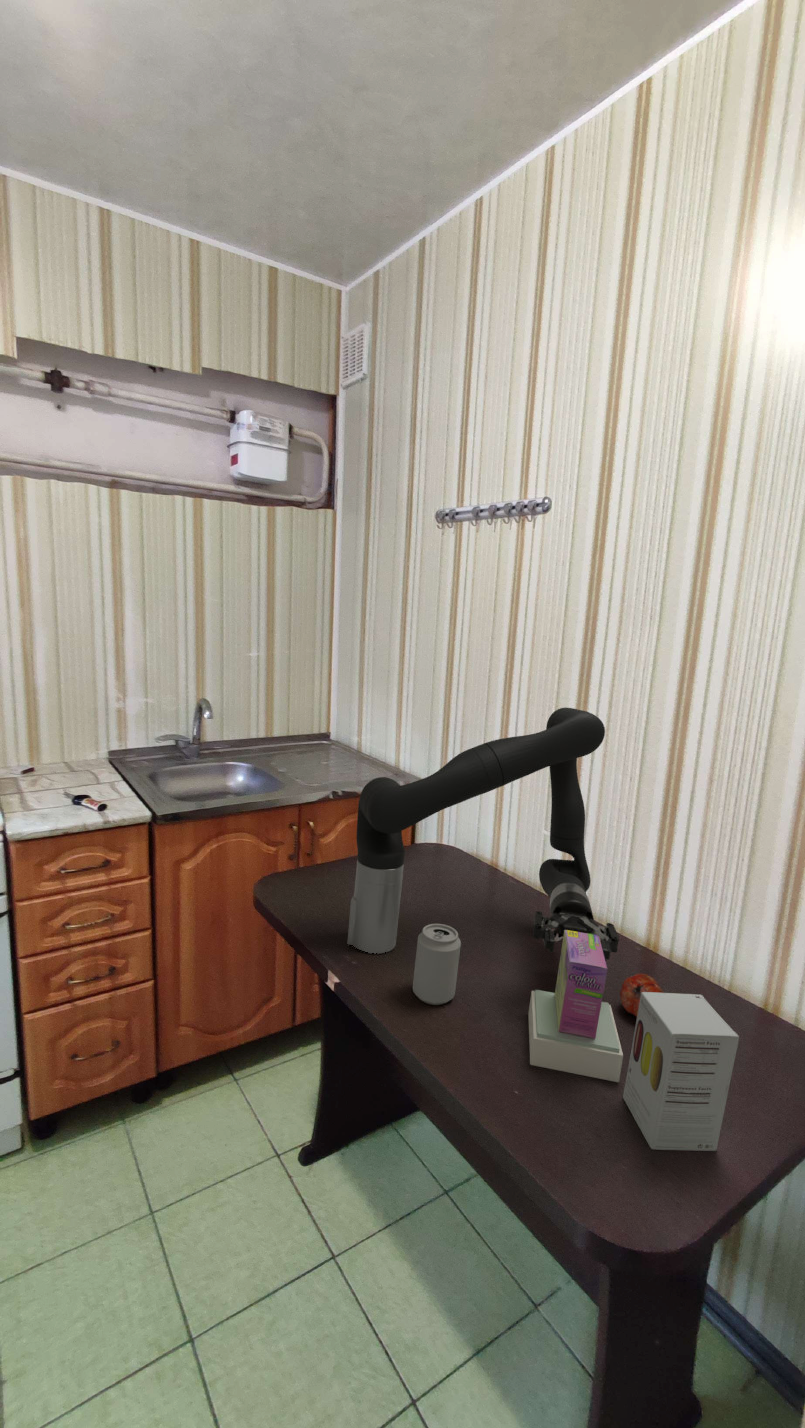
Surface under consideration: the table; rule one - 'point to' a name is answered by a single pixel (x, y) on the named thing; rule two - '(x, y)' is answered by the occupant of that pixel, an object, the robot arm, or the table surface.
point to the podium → (573, 1042)
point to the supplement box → (679, 1071)
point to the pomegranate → (637, 991)
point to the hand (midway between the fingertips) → (578, 951)
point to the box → (580, 984)
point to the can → (436, 964)
